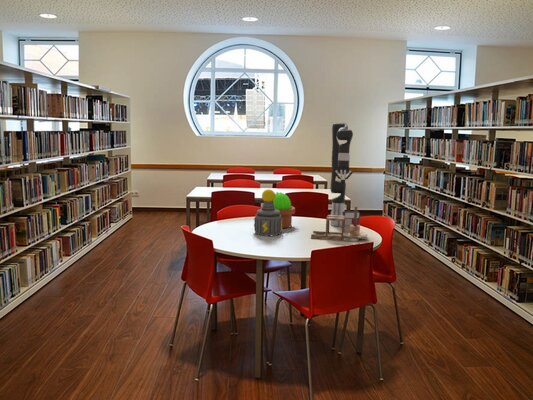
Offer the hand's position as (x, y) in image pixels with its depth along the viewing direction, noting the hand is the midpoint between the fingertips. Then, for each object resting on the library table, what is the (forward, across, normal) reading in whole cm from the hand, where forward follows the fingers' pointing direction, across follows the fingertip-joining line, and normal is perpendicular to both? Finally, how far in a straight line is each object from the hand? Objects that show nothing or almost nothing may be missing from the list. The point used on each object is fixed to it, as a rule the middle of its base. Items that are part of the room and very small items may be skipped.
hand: (342, 185), depth 323 cm
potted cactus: (+33, +45, -13) cm, 58 cm away
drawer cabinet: (+33, +3, +16) cm, 37 cm away
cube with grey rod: (+31, -10, +16) cm, 36 cm away
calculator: (+33, -6, -2) cm, 34 cm away
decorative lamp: (+33, +48, +14) cm, 60 cm away
